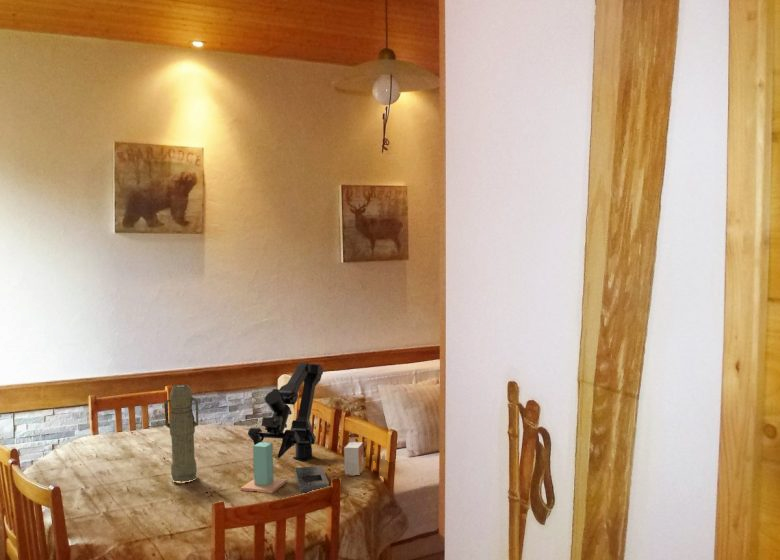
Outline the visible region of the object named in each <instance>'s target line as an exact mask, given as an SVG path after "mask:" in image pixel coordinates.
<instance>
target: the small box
mask: <svg viewBox="0 0 780 560" xmlns="http://www.w3.org/2000/svg"><path fill="white" fill-rule="evenodd" d="M343 453H344V454H343V458H344V461H343V462H344V475H345V474H350V475H349V476H355V475H359V476H360V475H361V474H362V473H363V472H364V470H365V464H364V457H365V456H364V442H363V441H360V442H358V441H349V442H348V443H347V444H346V445H345V446H344V447H343ZM363 469H364V470H363ZM360 473H361V474H360Z"/></svg>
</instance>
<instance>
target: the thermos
mask: <svg viewBox="0 0 780 560" xmlns="http://www.w3.org/2000/svg"><path fill="white" fill-rule="evenodd" d="M193 401H194V403H195V415H194V413H193V409H192V407H193ZM169 403H170V409H171V410H170V417H169ZM198 403H199V400H198V399H197V398H196V397H193V394H192V390H191V388H190V386H189V385H188V384H177V385H174V386H172V388H171V391H170V397H169V398H168V399H167V400H166V401H165V402H164V405H163V407H164V418H165V427H167V428H168V429H169V435H170V437H171V457H172V463H171V466H170V467H171V468H170V472H171V480H172V479H173V480H174V481H181V482H182V481H189V480H193V479H195V478H196V479H197V471H198V470H197V460H196V459H195V440H194V439H195V431H196V430H195V429H196V427H197V426H199V404H198ZM195 420H196V421H195Z"/></svg>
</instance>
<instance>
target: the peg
mask: <svg viewBox="0 0 780 560" xmlns="http://www.w3.org/2000/svg"><path fill="white" fill-rule="evenodd" d="M273 447H274V446H273V442H265V441H264V442H263V441H262V442H259V443H258V444H256V445H254V444H253V445H252V451H253V452H252V455H253V458H252V459H253V479H254V485H259V486H268V485H270V484H271V483H273V482H274V478H275V477H274V473H275V472H274V451H273V450H274V449H273Z"/></svg>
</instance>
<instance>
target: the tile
mask: <svg viewBox="0 0 780 560" xmlns="http://www.w3.org/2000/svg"><path fill="white" fill-rule="evenodd" d="M287 482H288V479H286V478H278V477H277V478H276V477H274V482H273V483H271V484H270V485H268V486H259V485H254V478H253V479H251V480H250V481H248V482H247V483H245V484H244V485H242V486H241V487H240V491H241V490H243V491H242V492H244V491H245V492H253V491H257V492H256V493H263V494H264V493H268V494H273V493H274V492H275V491H277V490H278V489H280V488H281V487H282V486H283V485H285V484H286V483H287Z"/></svg>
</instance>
